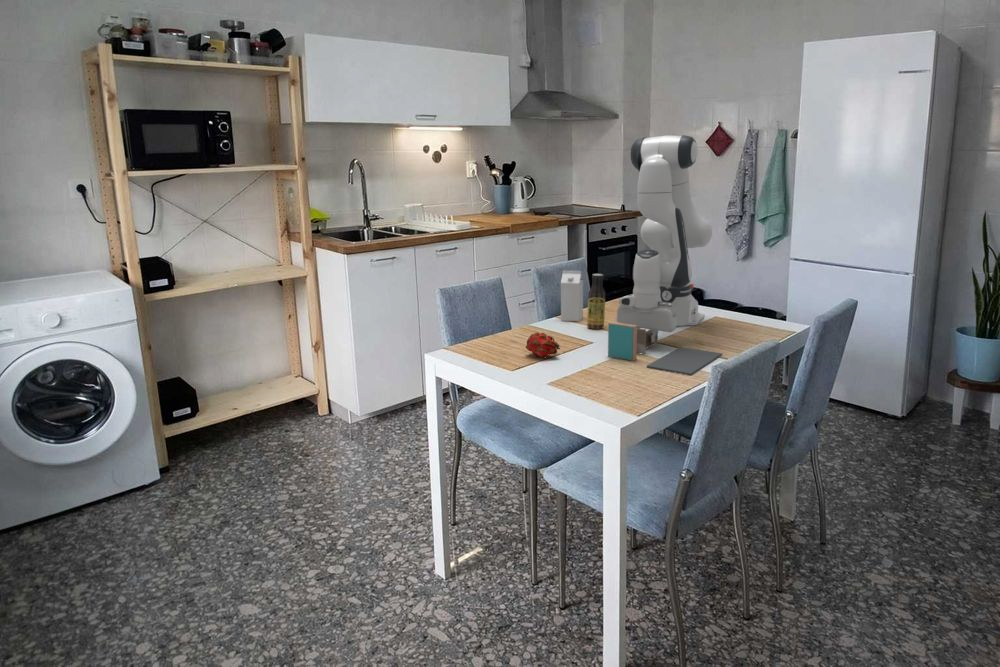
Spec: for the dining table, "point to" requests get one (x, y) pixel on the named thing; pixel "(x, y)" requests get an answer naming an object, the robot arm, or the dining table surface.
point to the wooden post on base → (644, 340)
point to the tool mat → (685, 360)
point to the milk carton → (571, 296)
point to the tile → (622, 340)
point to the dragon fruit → (542, 345)
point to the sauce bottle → (596, 303)
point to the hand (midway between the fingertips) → (645, 341)
